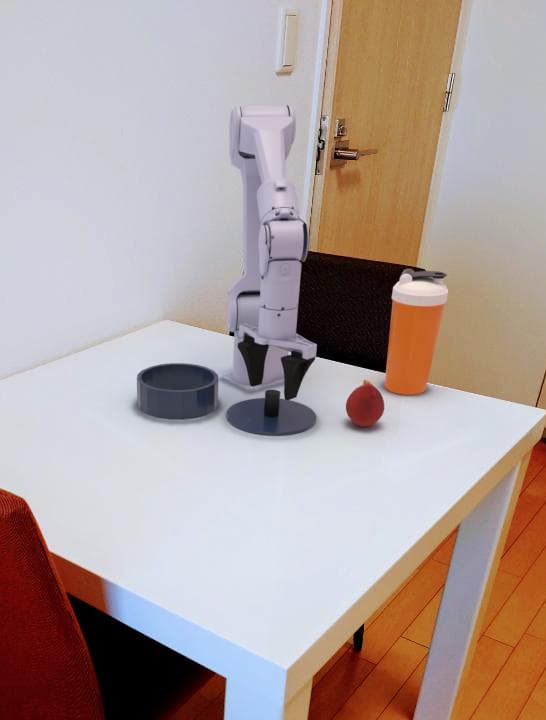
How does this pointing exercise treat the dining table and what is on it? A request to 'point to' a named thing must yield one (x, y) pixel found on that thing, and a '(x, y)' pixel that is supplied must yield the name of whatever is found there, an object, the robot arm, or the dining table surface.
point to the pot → (177, 391)
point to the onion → (365, 405)
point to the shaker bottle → (414, 330)
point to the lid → (271, 415)
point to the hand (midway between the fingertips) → (272, 391)
